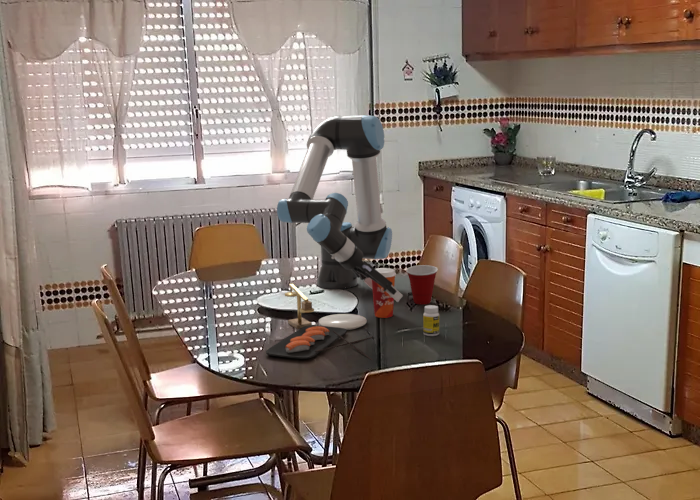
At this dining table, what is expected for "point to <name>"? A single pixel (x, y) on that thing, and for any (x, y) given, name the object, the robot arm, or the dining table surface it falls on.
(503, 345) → the dining table surface
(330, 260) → the robot arm
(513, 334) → the dining table surface
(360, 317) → the white round disc
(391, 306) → the coffee cup
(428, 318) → the supplement bottle
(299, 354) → the sushi plate
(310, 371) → the dining table surface
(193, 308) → the dining table surface
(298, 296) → the balance
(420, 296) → the plastic cup
